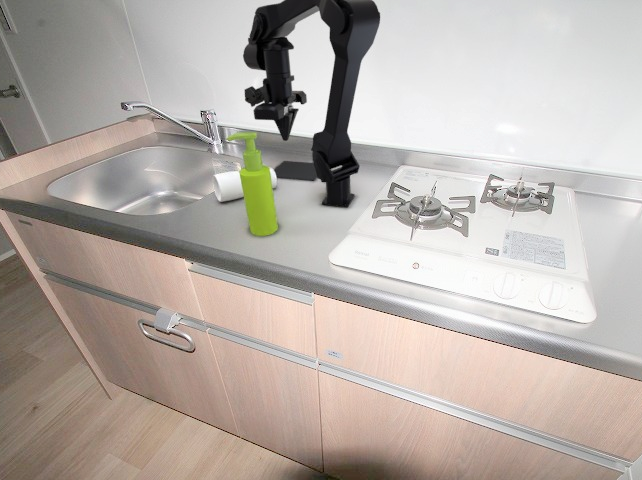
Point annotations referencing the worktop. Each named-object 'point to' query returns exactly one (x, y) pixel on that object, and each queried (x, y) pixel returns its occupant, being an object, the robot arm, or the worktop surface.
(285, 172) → the drying mat
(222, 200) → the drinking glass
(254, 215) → the soap dispenser
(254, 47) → the robot arm
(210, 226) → the worktop surface
